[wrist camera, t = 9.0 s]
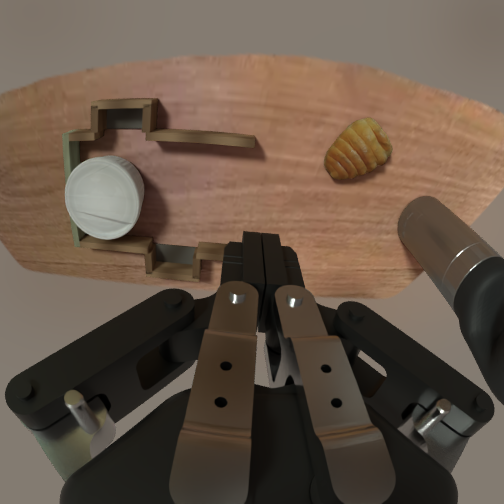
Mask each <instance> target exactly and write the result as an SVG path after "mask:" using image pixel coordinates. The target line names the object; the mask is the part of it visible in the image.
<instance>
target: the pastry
mask: <svg viewBox="0 0 504 504" xmlns="http://www.w3.org/2000/svg"><path fill="white" fill-rule="evenodd" d="M391 153H392V145H391V143H390V141H389V139H388V137H387V135H386V134H385V133H384V132H383V130H382V128H381V127H380V126H379V125H378V124H377V122H376V121H375V120H374V119H372V118H365V119H362V120H357V121H355V122H353V123H352V124H351V125H349V126H348V127H347V128H346V130H345V131H344V132H342V134H341V135H340V136H339V137H338V138H337V139H336V141H335V142H334V143H333V144H332V146H331V147H330V148H329V150H328V151H327V153H326V156H325V159H324V166H325V168H326V170H327V171H328V172H329V173H330V175H331V176H332V177H333V178H335V179H340V180H343V179H347V178H354V177H356V176H358V175H364V174H365V173H367V172H371V171H373V170H374V169H375V168H376V166H377V165H383V164H384V163H385V162H386V160H387V157H388V156H390V155H391Z"/></svg>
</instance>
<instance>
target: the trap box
mask: <svg viewBox="0 0 504 504" xmlns="http://www.w3.org/2000/svg"><path fill="white" fill-rule="evenodd" d="M157 108H158V98H132V99H106V100H98V101H94V102H91V129H78V130H71V131H69V132H67V133H64V134H62V136H63V156H64V170H65V181H66V183H67V180H68V178H69V176H70V174H71V173H72V171H73V170H74V169H75V168H76V167H77V166H78V165H79V164H80V148H79V141H89V140H96V139H98V138H100V137H102V136H104V130H105V129H116V128H142V132H146V141H173V142H191V143H205V144H218V145H229V146H239V147H249V148H254V147H255V136H254V135H245V134H235V133H225V132H213V131H199V130H182V129H156V125H157ZM70 221H71V227H72V233H73V239H74V245H75V247H82V248H92V249H102V250H111V251H121V252H131V253H142V254H144V255H145V268H146V277H155V278H164V279H174V280H184V281H194V282H199V280H200V274H201V264H202V259H205V260H216V261H223V255H224V247H225V246H226V245H227V244H220V243H209V242H199V244H198V247H188V246H177V245H166V244H155V243H153V237H142V236H130V235H123V236H121V237H119V238H116V239H110V240H105V239H99V238H96V237H93V236H91V235H89V234H87V233H85V232H84V231H83V230H81V229H80V228H79V227H78V226H77V225H76V224H75V222H74V221H73V220H72V218H71V216H70Z"/></svg>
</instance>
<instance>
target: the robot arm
mask: <svg viewBox="0 0 504 504" xmlns="http://www.w3.org/2000/svg"><path fill="white" fill-rule="evenodd" d="M398 235H399V237H400V239H401V241H402V242H403V243H404V245H405V246H406V247H407V248H408V250H409V251H410V252H411V253H412V255H413V256H414V257H415V259H416V260H417V261H418V263H419V264H420V265H421V266H422V268H423V269H424V270H425V272H426V273H427V274H428V276H429V277H430V278H431V280H432V281H433V283H434V284H435V285H436V287H437V288H438V289H439V291H440V292H441V294H442V295H443V296H444V298H445V299H446V301H447V302H448V303H449V305H450V306H451V308H452V309H453V311H454V312H455V314H456V315H457V317H458V318H459V324H460V329H461V332H462V334H463V337H464V339H465V341H466V342H467V344H468V346H469V348H470V350H471V352H472V354H473V356H474V358H475V360H476V362H477V364H478V366H479V369H480V371H481V373H482V375H483V377H484V379H485V381H486V383H487V384H488V386H489V388H490V390H491V391H492V393H493V394H494V395H495V397H496V398H497V399H498V400H499V401H500V402H501V403H502V404H503V405H504V259H503V258H502V257H501V256H500V255H499V254H498V253H497V252H496V251H495V250H494V249H493V248H492V247H491V246H490V245H489V244H487V242H486V241H484V240H483V239H482V238H481V237H480V236H479V235H478V234H477V233H476V232H475V231H474V230H472V229H471V228H470V227H469V226H468V225H467V224H466V223H465V222H463V221H462V220H461V219H460V218H459V217H458V216H456V215H455V214H454V213H453V212H452V211H451V210H450V209H448V208H447V207H446V206H445V205H443V204H442V203H441V202H440V201H438V200H437V199H435V198H434V197H430V196H423V197H419V198H417V199H415V200H413V201H412V202H411V203H409V204H408V205H407V207H406V208H405V209H404V211H403V212H402V214H401V216H400V218H399V222H398ZM257 327H258V332H262V333H265V334H266V340H265V345H264V354H265V360H266V366H267V372H268V379H269V385H270V388H269V387H265V386H260V385H256V384H254V382H255V381H254V380H255V365H256V351H257V335H256V332H257ZM360 350H362V351H363V352H364V353H365V354H367V355H368V356H370V357H371V358H372V359H373V360H375V361H376V362H377V363H378V364H380V365H381V366H382V367H383V368H384V369H385V371H386V373H387V377H385V376H383V375H381V374H380V373H379V372H378V371H376V370H375V369H374V368H372V367H371V366H370V365H369V364H367V363H366V362H365V361H363V360H362V359H361V358H360V357H358V354H359V352H360ZM195 360H198V361H197V366H196V370H195V375H194V379H193V383H192V388H191V389H187V390H184V391H182V392H179V393H177V394H175V395H173V396H171V397H170V398H168V399H167V400H165V401H164V402H163V403H162V404H160V405H159V406H158V407H157V408H156V409H154V410H153V411H152V412H151V413H150V414H148V415H147V416H146V417H145V418H144V419H143V420H141V421H140V422H139V423H138V424H136V425H135V426H134V427H132V428H131V429H130V430H129V431H127V432H126V433H125V434H124V435H123V436H121V437H120V438H119V439H117V440H116V441H115V442H114V443H112V444H111V445H110V446H108V445H109V444H110V443H111V442H112V441H113V439H114V437H115V433H116V428H115V423H116V422H118V421H119V420H120V419H122V418H123V417H125V416H126V415H127V414H129V413H130V412H132V411H133V410H134V409H136V408H137V407H138V406H140V405H141V404H143V403H144V402H145V401H147V400H148V399H149V398H151V397H152V396H153V395H154V394H156V393H157V392H159V391H160V390H161V389H163V388H164V387H165V386H167V385H168V384H169V383H170V382H172V381H173V380H174V379H176V378H177V377H178V376H179V375H181V374H182V373H183V372H185V371H186V370H187V369H188V368H190V367H191V366H192V365H193V364H194V362H195ZM5 399H6V403H7V405H8V406H9V408H10V409H11V410H12V411H13V412H14V413H15V415H16V416H17V417H18V418H19V419H20V421H21V422H22V424H23V425H24V426H25V427H26V428H27V429H28V430H29V431H30V432H31V433H32V434H33V435H34V436H35V437H36V439H37V441H38V442H39V444H40V446H41V447H42V449H43V451H44V452H45V454H46V455H47V457H48V458H49V460H50V461H51V463H52V464H53V466H54V467H55V469H56V470H57V472H58V473H59V474H60V476H61V477H62V479H63V480H64V481H65V484H64V486H63V488H62V491H61V495H60V504H457V502H458V491H457V487H456V483H455V480H454V479H453V477H452V475H451V472H452V470H453V468H454V467H455V465H456V463H457V461H458V460H459V457H460V456H461V454H462V452H463V450H464V448H465V446H466V444H467V442H468V440H469V438H470V437H471V436H473V435H474V434H475V433H476V432H477V431H478V430H480V429H481V428H482V427H483V426H484V425H485V424H486V423H488V422H489V421H490V420H491V418H492V417H493V415H494V404H493V401H492V399H491V398H490V396H489V395H488V394H487V393H486V392H485V391H483V390H482V389H481V388H479V387H478V386H477V385H475V384H474V383H473V382H471V381H470V380H469V379H467V378H466V377H464V376H463V375H462V374H460V373H459V372H458V371H456V370H455V369H453V368H452V367H451V366H449V365H448V364H447V363H445V362H444V361H443V360H441V359H440V358H438V357H437V356H436V355H434V354H433V353H432V352H430V351H429V350H427V349H426V348H425V347H423V346H422V345H420V344H419V343H417V342H416V341H415V340H413V339H412V338H411V337H409V336H408V335H406V334H405V333H404V332H402V331H401V330H399V329H398V328H397V327H395V326H393V325H392V324H391V323H389V322H388V321H387V320H385V319H383V318H382V317H381V316H380V315H378V314H377V313H375V312H374V311H372V310H371V309H370V308H368V307H367V306H365V305H363V304H361V303H358V302H352V301H348V302H344V303H342V304H340V305H339V307H338V309H337V310H335V309H332V308H328V307H325V306H322V305H320V304H318V303H316V301H315V298H314V296H313V295H312V293H311V292H310V291H308V290H307V289H305V285H304V281H303V277H302V273H301V269H300V265H299V263H298V258H297V254H296V253H295V252H294V250H293V249H292V248H291V247H288V246H281V243H280V238H279V234H271V233H259V232H248V231H243V238H242V243H241V242H229V243H228V244H227V245H226V246H225V247H224V255H223V264H222V273H221V282H220V286H219V288H218V290H217V292H216V293H215V294H213V295H211V296H209V297H206V298H202V299H195V300H194V299H193V297H192V296H191V294H189V293H188V292H186V291H184V290H181V289H166V290H163V291H161V292H159V293H157V294H155V295H153V296H152V297H150V298H148V299H146V300H145V301H143V302H141V303H140V304H138V305H136V306H134V307H132V308H131V309H129V310H127V311H126V312H124V313H122V314H120V315H119V316H117V317H115V318H113V319H112V320H110V321H108V322H107V323H105V324H103V325H101V326H100V327H98V328H96V329H94V330H93V331H92V332H89V333H88V334H86V335H84V336H82V337H81V338H79V339H77V340H76V341H74V342H72V343H70V344H69V345H67V346H65V347H64V348H62V349H60V350H59V351H57V352H56V353H53V354H52V355H50V356H48V357H47V358H45V359H44V360H42V361H40V362H38V363H37V364H35V365H33V366H31V367H30V368H28V369H26V370H25V371H23V372H21V373H20V374H18V375H16V376H15V377H14V378H13V379H11V381H10V382H9V383H8V385H7V388H6V391H5ZM107 446H108V447H107ZM106 447H107V448H106Z"/></svg>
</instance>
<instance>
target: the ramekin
mask: <svg viewBox="0 0 504 504" xmlns="http://www.w3.org/2000/svg"><path fill="white" fill-rule="evenodd" d="M143 199H144V184H143V180H142V178H141V175H140V173H139V172H138V170H137V169H136V168H135V166H134V165H132V164H131V163H130V162H129V161H127V160H125V159H123V158H120V157H117V156H104V157H96V158H91V159H88V160H86V161H84V162H82V163H81V164H79V165H78V166H77V167H76V168H75V169H74V170H73V171H72V173H71V174H70V176H69V178H68V180H67V183H66V187H65V202H66V207H67V210H68V212H69V214H70V216H71V218H72V220H73V221H74V222H75V224H76V225H77V226H78V227H79V228H80V229H81V230H83V231H84V232H85V233H87V234H89V235H91V236H93V237H96V238H99V239H105V240H110V239H116V238H119V237H121V236H123V235H125V234H126V233H128V232H129V231H130V230H131V229H132V228H133V226H134V225H135V223H136V222H137V220H138V218H139V215H140V212H141V206H142V202H143Z"/></svg>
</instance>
